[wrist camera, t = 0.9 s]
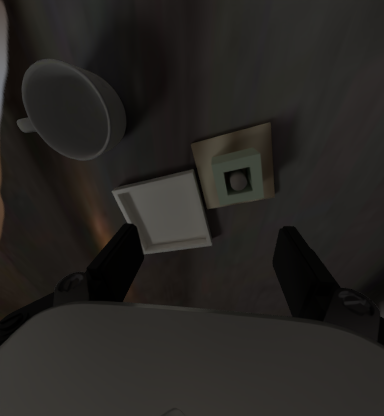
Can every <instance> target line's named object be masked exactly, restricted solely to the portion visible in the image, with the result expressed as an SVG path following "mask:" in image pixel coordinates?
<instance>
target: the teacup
mask: <svg viewBox="0 0 384 416" xmlns="http://www.w3.org/2000/svg"><path fill="white" fill-rule="evenodd" d="M22 98H23V103H24V106H25V109H26V112H27V115H28V117H29V118H23V119H19V120H17V125H18V126H19V128H20V129H21V130H22V131H23V132H36V131H37V132H38V134H39V135H40V136H41V137H42V138H43V139H44V141H45V142H46V143H47V144H48V145H49V146H51V147H52V148H53V149H54V150H56V151H57V152H59V153H61V154H62V155H64V156H66V157H69V158H72V159H76V160H91V159H94V158H96V157H98V156H100V155H101V154H103V153H105V152H107V151H109V150H110V149H112V148H114V147H115V146H116V145H117V144H118V143H119V142H120V141H121V139H122V138H123V136H124V133H125V129H126V114H125V110H124V106H123V104H122V102H121V100H120V98H119V96H118V94H117V93H116V92H115V90H114V89H113V88H112V87H111V86H110V85H109V84H108V83H107V82H106V81H105V80H104V79H102V78H101V77H99V76H97V75H96V74H94V73H92V72H89V71H87V70H84V69H82V68H79V67H76V66H73V65H71V64H69V63H66V62H64V61H61V60H56V59H43V60H40V61H37V62H36V63H35V64H33V65H31V66H30V67H29V68H28V70H27V71H26V73H25V75H24V78H23V82H22Z"/></svg>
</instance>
